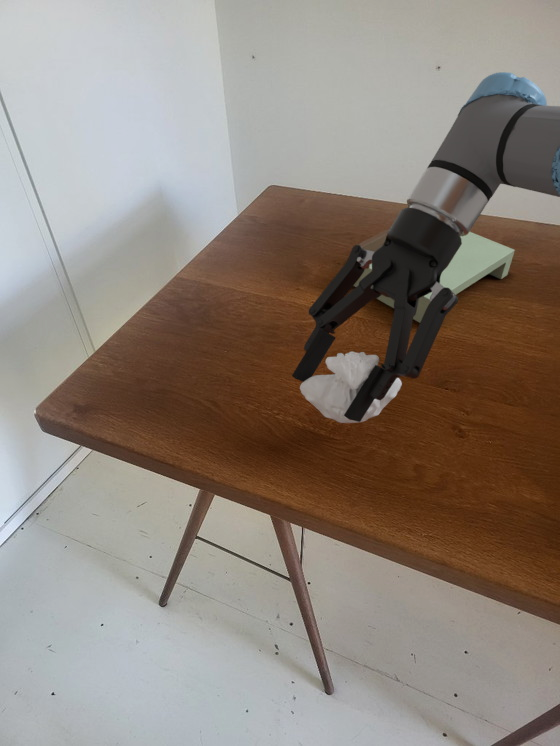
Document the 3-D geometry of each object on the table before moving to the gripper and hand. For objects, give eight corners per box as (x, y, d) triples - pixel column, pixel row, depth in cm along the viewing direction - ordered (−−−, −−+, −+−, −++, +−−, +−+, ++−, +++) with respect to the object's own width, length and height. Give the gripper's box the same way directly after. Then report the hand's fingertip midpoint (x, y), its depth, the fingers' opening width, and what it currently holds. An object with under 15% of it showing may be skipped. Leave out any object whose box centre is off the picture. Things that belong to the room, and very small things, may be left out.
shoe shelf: (507, 275, 91) (519, 236, 86) (428, 327, 81) (436, 288, 76) (429, 240, 101) (435, 204, 96) (350, 284, 91) (352, 246, 86)
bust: (302, 427, 65) (299, 419, 54) (299, 368, 67) (296, 348, 56) (398, 423, 65) (415, 414, 53) (393, 363, 66) (409, 342, 55)
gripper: (528, 271, 53) (407, 453, 57) (376, 208, 65) (284, 361, 69) (513, 242, 47) (379, 447, 51) (348, 179, 59) (249, 348, 63)
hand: (324, 398), depth 60 cm, fingers closed on bust, 8 cm apart
